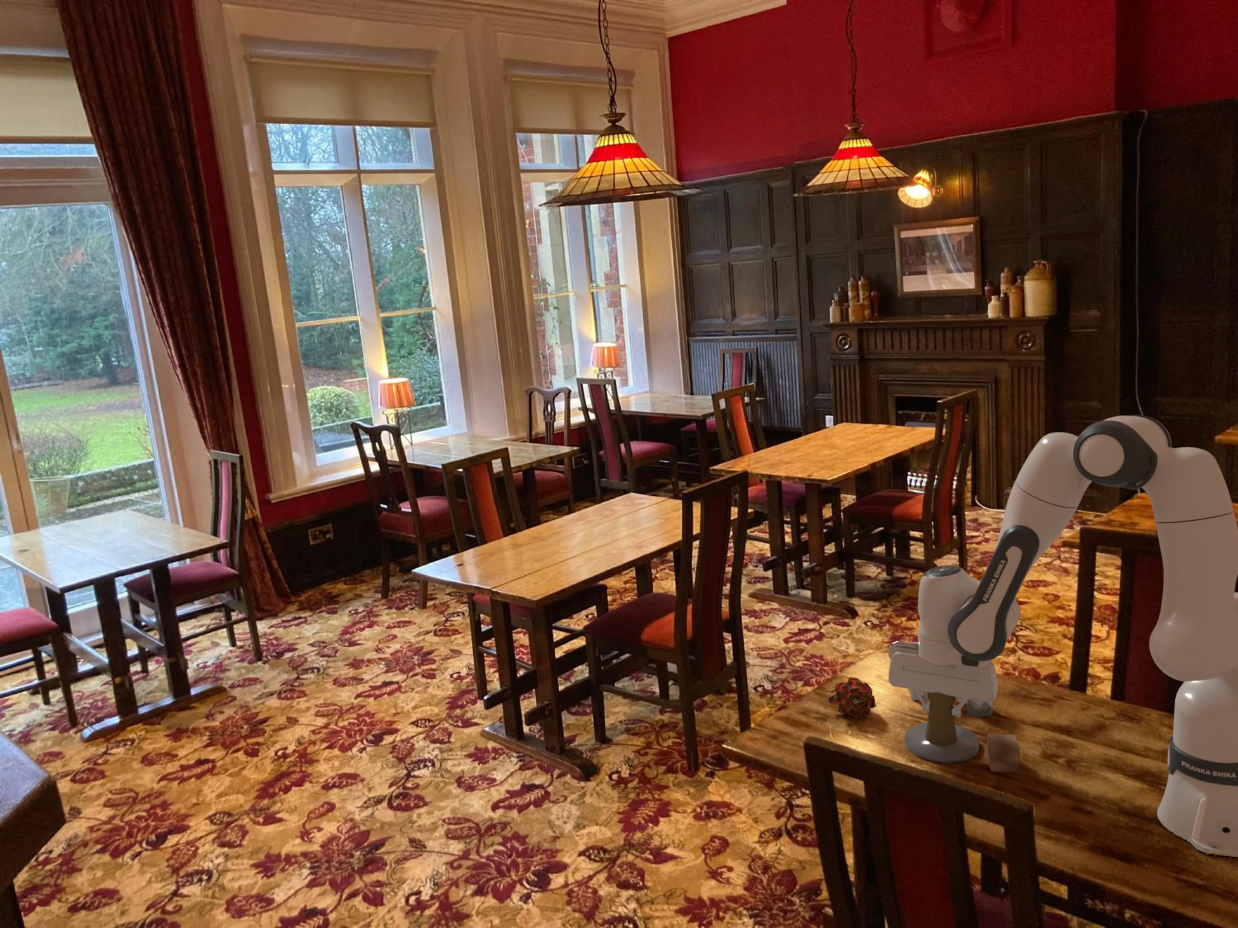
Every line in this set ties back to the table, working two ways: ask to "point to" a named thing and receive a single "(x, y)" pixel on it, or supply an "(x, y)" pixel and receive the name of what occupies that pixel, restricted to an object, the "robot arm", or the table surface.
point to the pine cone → (853, 698)
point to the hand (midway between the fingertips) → (941, 712)
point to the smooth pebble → (946, 754)
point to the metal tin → (979, 708)
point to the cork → (941, 720)
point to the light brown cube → (1003, 753)
